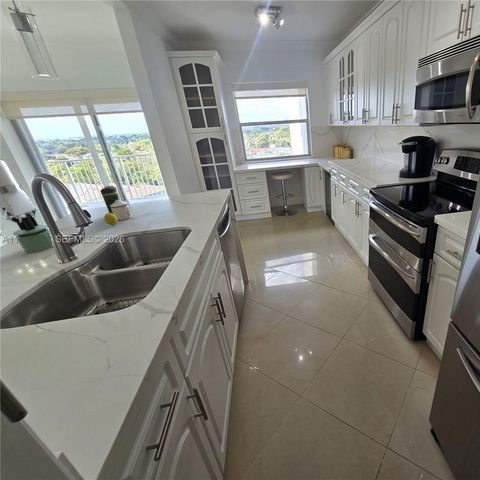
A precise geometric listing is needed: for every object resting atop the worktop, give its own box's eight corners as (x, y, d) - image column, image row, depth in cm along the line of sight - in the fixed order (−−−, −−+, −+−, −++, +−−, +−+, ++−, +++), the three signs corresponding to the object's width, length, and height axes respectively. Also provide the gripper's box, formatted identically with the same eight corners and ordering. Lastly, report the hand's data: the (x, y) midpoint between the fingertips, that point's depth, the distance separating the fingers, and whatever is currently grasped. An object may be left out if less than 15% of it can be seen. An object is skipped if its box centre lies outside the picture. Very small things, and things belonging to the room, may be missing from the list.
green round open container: (21, 256, 118) (11, 239, 114) (31, 247, 127) (21, 231, 123) (53, 249, 123) (44, 233, 119) (60, 241, 132) (51, 226, 128)
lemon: (110, 224, 151) (104, 212, 147) (120, 223, 152) (115, 210, 149) (106, 228, 146) (100, 215, 143) (117, 226, 147) (111, 213, 144)
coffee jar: (124, 215, 166) (113, 187, 158) (109, 218, 163) (97, 189, 155) (126, 211, 174) (116, 184, 166) (112, 213, 171) (101, 186, 163)
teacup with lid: (133, 218, 160) (126, 200, 155) (115, 221, 155) (107, 203, 150) (132, 213, 169) (125, 196, 164) (115, 216, 164) (108, 199, 159)
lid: (9, 238, 114) (-1, 223, 111) (20, 230, 123) (11, 216, 120) (44, 232, 119) (35, 217, 116) (52, 224, 128) (44, 211, 125)
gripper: (18, 185, 120) (39, 221, 128) (-24, 195, 105) (2, 235, 113) (34, 184, 120) (54, 221, 128) (-7, 194, 105) (19, 234, 113)
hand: (29, 227), depth 120 cm, fingers closed on lid, 3 cm apart
